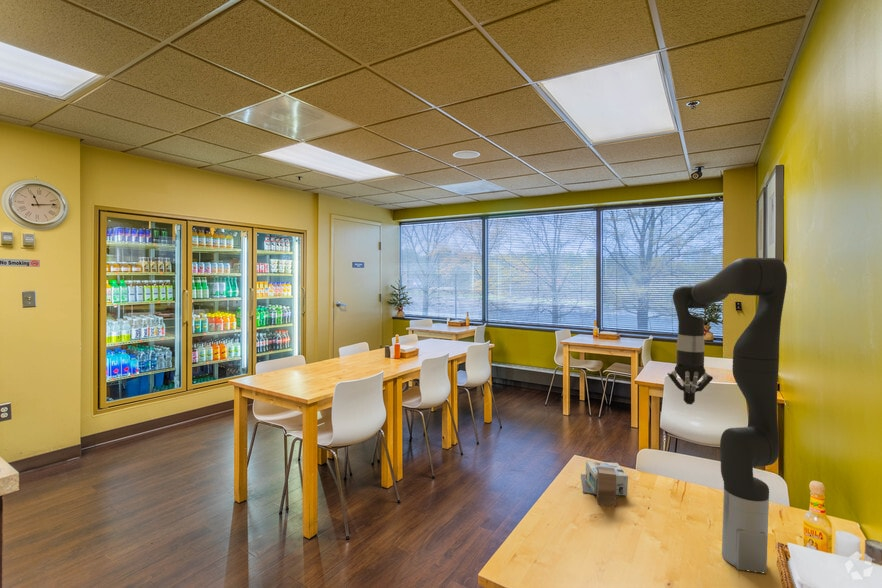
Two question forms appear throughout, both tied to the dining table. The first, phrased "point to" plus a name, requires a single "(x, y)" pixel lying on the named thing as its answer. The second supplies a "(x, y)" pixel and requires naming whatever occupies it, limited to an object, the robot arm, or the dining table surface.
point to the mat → (587, 486)
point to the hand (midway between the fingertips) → (689, 403)
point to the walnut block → (606, 486)
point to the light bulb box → (620, 474)
